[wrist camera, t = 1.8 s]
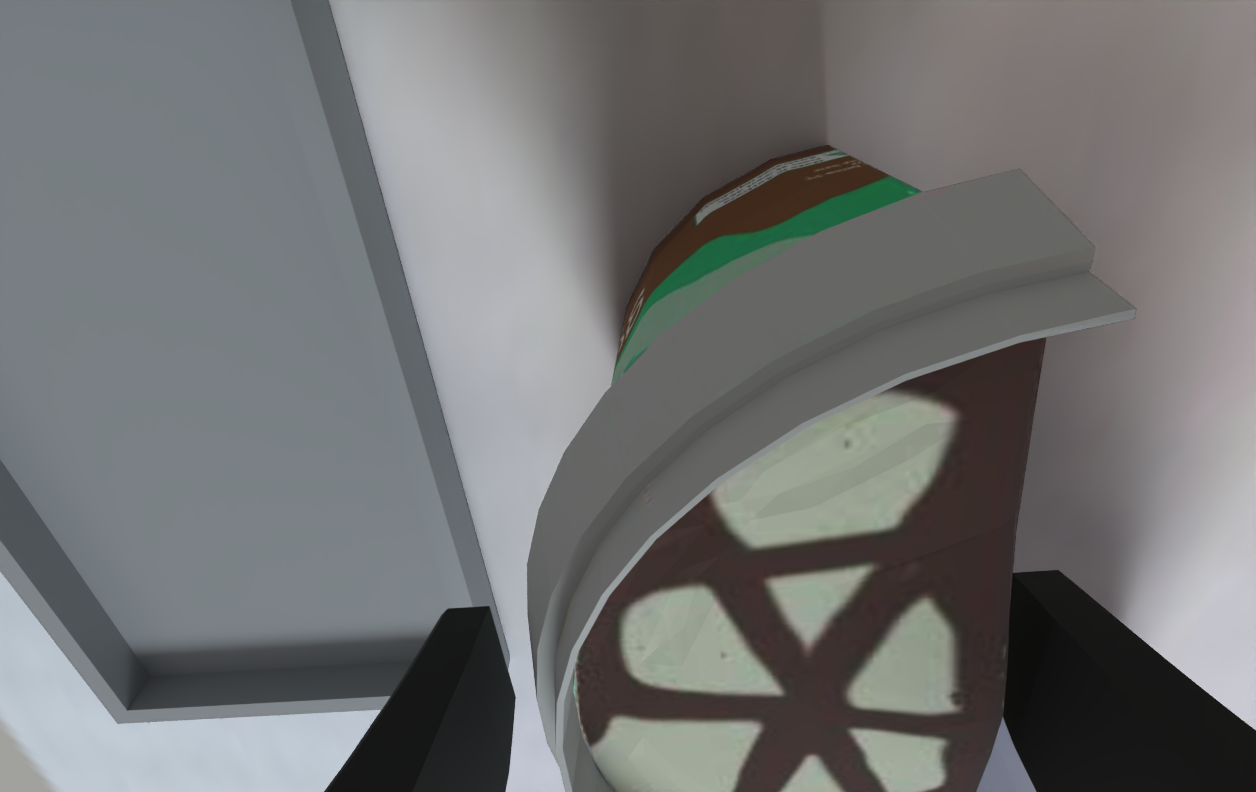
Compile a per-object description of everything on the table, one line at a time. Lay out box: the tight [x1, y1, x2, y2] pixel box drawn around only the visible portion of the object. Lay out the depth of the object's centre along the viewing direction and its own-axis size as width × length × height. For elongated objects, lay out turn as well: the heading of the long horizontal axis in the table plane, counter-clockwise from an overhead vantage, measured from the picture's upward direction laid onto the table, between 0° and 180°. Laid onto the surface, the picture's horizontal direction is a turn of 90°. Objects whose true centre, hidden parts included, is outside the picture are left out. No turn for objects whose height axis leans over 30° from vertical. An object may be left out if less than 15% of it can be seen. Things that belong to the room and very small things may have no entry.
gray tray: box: [0, 0, 510, 724], centre depth 17 cm, size 12×20×2 cm, turn 6°
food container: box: [527, 145, 1136, 792], centre depth 13 cm, size 12×6×10 cm, turn 9°
